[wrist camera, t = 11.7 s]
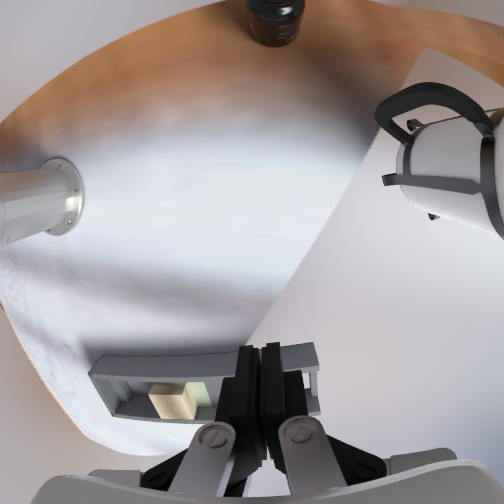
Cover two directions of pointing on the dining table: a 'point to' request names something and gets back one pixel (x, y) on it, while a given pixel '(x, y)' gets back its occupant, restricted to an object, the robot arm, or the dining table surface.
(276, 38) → the supplement bottle
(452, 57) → the dining table surface
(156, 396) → the beech block
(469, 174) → the coffee press
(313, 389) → the trap box
